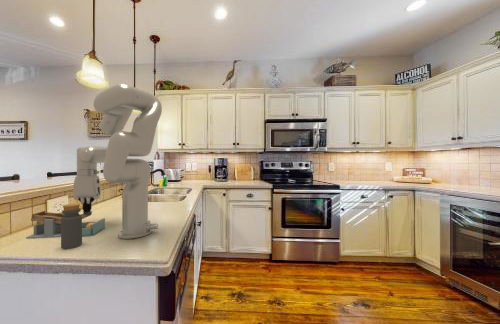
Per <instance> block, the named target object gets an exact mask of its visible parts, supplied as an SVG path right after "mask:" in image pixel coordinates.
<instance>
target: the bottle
mask: <svg viewBox="0 0 500 324" xmlns="http://www.w3.org/2000/svg"><path fill="white" fill-rule="evenodd" d="M80 206H81V203H78V202H77V203H76V202H75V203H66V204H63V205H62V209H63V210H61V214H64V216H63V217H62V218H61V237H60V248H61V249H62V250H71V249H75V248H77V247H78V248H79V247H80V246H81V245H82V244H83V236H82V222H83V219H82V215H81V214H80V212H81V210H82V209H81V207H80Z"/></svg>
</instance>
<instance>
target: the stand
mask: <svg viewBox="0 0 500 324" xmlns="http://www.w3.org/2000/svg"><path fill="white" fill-rule="evenodd" d="M25 237H26V238H25V239H44V238H61V224H58V223H54V219H46V220H44V225H38V224H36V225H33V234H30V235H28V236H25Z"/></svg>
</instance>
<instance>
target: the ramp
mask: <svg viewBox="0 0 500 324" xmlns="http://www.w3.org/2000/svg"><path fill="white" fill-rule="evenodd" d="M92 213H93V211H92V210H91V211H89V212H83V213H82V214H80V215H82V220H83V219H86V218H88V217H90V216H92V215H93V214H92ZM63 216H64V214H63V213H60V212H59V213H58V212H48V211H45V210H42V211H40V212H34V213H32V214H31V219H30V221H31V222H36V225H44V220H46V219H54V223H58V224H61V218H62V217H63Z"/></svg>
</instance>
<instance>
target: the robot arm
mask: <svg viewBox="0 0 500 324" xmlns="http://www.w3.org/2000/svg"><path fill="white" fill-rule="evenodd" d="M92 103H93V108H94V110H95V111H96V112H97V113H99V114H104V116H103V117H102V119H101V121H100V123H99V128H100V130H101V131H102V132H104V134H106V135H108V136H110V138H109V139H108V143H107V146H95V145H94V146H92V145H90V146H85V147H84V146H83V147H78V148H76V176H75V177H74V180H73V181H74V182H73V185H72V186H73V189H72V190H73V191H72V193H73V200H75V201H78V202H80V205H82V212H83V213H84V212H89V211H92V208H93V207H92V203H93V202H94V201H96V200H99V199H101V194H102V188H101V187H102V185H101V180H100V176H99V175H98V174H100V170H98V169H97V168H98V167H97V165H98V164H99V163H100V164H101V163H102V164H103V167H102V168H103V169H102V174H103V175H102V176H103V178H104V179H105V180H104V181H106V182H108V183H109V184H123V183H124V184H125V185H124V187H123V189H122V194H121V196H122V198H121V199H122V202H121V203H122V204H121V210H122V211H121V216H122V218H121V220H122V221H121V222H122V223H121V225H122V226H121V227H122V229H121V230H120V231H118V232H117V237H118V238H120V239H123V240H124V239H125V240H131V239H138V238H141V237H145V236H147V235H150V234H151V233H153V230H158V229H159V224H158V223H151V220H149V181H150V176H151V172H152V171H151V165H150V164H149V162H148V161H146V160H145V159H141V158H137V157H147V156H149V155H150V153H151V151H152V149H153V144H154V141H155V140H154V139H155V136H156V130H157V127H158V124H159V121H160V118H161V116H162V110H163V109H162V108H163V107H162V103H161V101H160V99H159V98H158V97H157V96H156V95H154V94H152V93H150V92H148V91H145V90H143V89H139V88H137V87H134V86H131V85H129V84H125V83H119V84H114V85H112V86H110V87H108V88H106V89H104V90H102V91H100V92H99V93H98V94H97V95H96V96H95V98H94V100H93V102H92ZM133 111H138V112H140V113H139V114H138V115H137V116H136V118H135V119H134V121H133V125H132V129H131V131H124V129H125V126H126V124H127V122H128V121H129V119H130V117H131V115H132V113H133ZM128 157H136V158H128Z"/></svg>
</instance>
